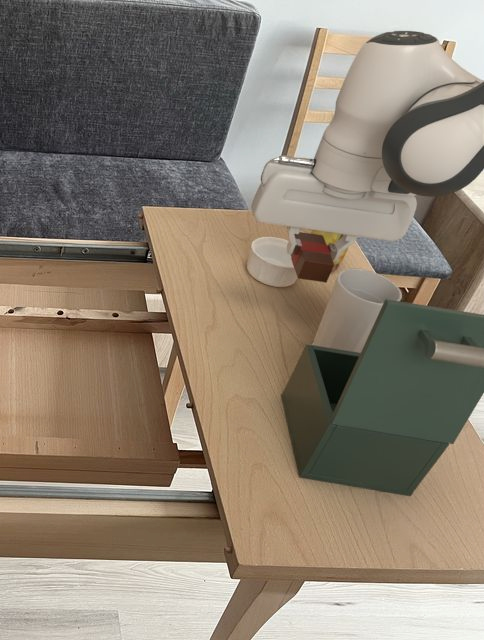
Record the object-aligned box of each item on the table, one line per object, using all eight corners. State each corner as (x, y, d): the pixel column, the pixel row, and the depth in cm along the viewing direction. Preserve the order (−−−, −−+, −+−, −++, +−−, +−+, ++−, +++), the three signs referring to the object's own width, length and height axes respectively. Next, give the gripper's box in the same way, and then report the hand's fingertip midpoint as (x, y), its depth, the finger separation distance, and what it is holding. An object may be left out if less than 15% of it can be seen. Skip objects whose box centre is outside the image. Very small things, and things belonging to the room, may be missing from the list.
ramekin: (276, 255, 116) (285, 233, 113) (310, 286, 110) (320, 263, 107) (232, 262, 113) (240, 239, 110) (264, 293, 107) (274, 270, 104)
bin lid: (385, 298, 65) (402, 324, 61) (520, 320, 65) (547, 347, 61) (329, 419, 73) (342, 448, 69) (450, 439, 73) (469, 470, 69)
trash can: (280, 395, 89) (306, 343, 83) (379, 411, 89) (411, 360, 83) (299, 477, 79) (329, 424, 73) (410, 496, 78) (449, 444, 73)
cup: (357, 383, 92) (398, 312, 85) (298, 360, 95) (332, 289, 87) (366, 351, 98) (405, 282, 90) (310, 330, 101) (343, 261, 93)
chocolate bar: (315, 253, 102) (323, 234, 100) (326, 283, 96) (335, 264, 94) (287, 248, 102) (295, 230, 100) (297, 278, 96) (304, 260, 94)
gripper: (272, 163, 87) (240, 256, 96) (436, 186, 86) (389, 278, 95) (265, 143, 92) (235, 233, 101) (421, 164, 91) (377, 254, 100)
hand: (311, 255), depth 98 cm, fingers closed on chocolate bar, 4 cm apart
